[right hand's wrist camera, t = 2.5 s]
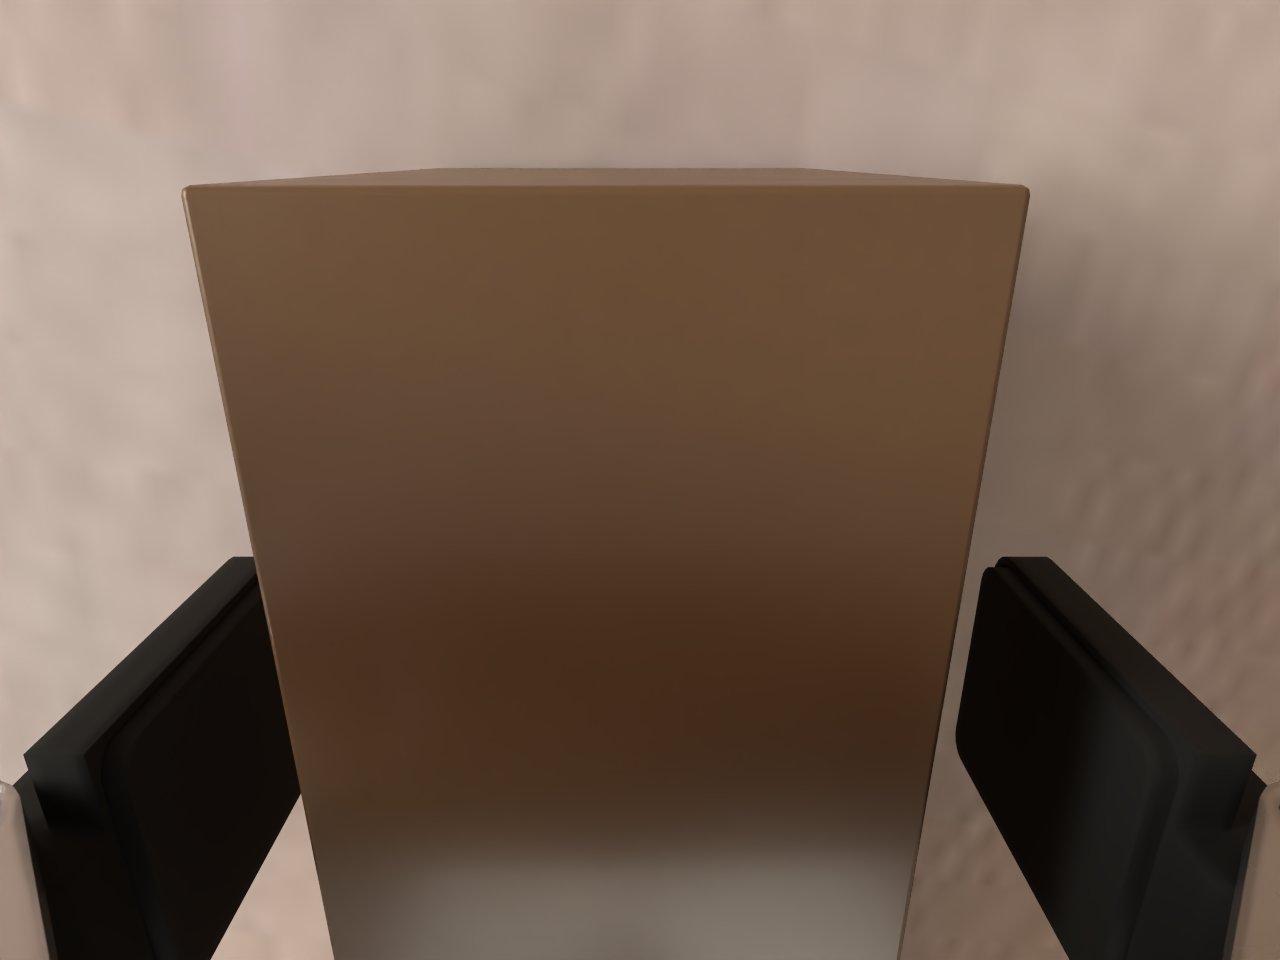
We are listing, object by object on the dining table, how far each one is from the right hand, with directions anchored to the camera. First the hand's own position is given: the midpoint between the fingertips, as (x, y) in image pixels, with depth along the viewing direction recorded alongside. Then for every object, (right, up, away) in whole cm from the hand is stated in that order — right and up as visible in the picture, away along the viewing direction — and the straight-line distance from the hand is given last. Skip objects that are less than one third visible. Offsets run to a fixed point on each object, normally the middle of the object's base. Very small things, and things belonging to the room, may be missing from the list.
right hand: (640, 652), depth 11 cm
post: (0, -24, +14) cm, 27 cm away
